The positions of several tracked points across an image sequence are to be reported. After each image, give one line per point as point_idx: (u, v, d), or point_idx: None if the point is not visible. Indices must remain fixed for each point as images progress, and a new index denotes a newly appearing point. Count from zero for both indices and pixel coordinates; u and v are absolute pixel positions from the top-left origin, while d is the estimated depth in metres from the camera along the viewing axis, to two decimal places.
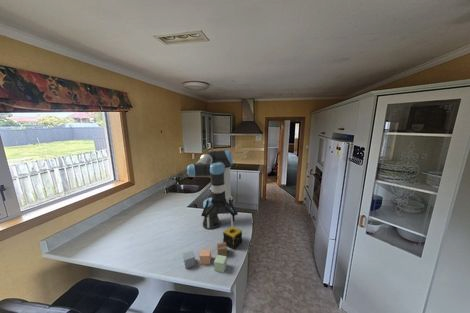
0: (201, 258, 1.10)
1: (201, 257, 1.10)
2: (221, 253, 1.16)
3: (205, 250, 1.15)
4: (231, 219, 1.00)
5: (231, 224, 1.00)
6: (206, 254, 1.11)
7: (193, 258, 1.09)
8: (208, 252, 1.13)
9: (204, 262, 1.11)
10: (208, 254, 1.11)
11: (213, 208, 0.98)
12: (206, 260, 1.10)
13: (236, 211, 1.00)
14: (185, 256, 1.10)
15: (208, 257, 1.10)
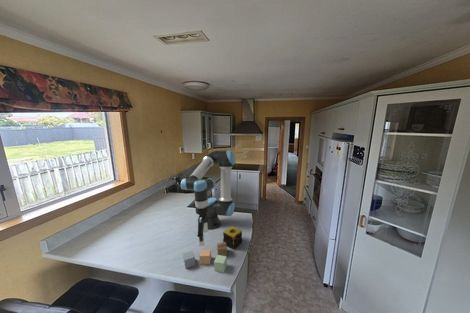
0: (201, 258, 1.10)
1: (201, 257, 1.10)
2: (221, 253, 1.16)
3: (205, 250, 1.15)
4: (199, 237, 1.03)
5: (199, 242, 1.04)
6: (206, 254, 1.11)
7: (193, 258, 1.09)
8: (208, 252, 1.13)
9: (204, 262, 1.11)
10: (208, 254, 1.11)
11: None
12: (206, 260, 1.10)
13: (199, 233, 1.00)
14: (185, 256, 1.10)
15: (208, 257, 1.10)
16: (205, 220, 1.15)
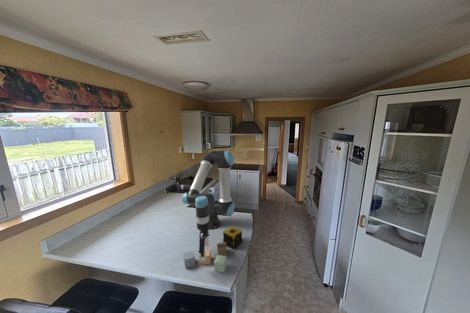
0: None
1: None
2: (221, 253, 1.16)
3: (205, 250, 1.15)
4: (200, 253, 1.05)
5: (200, 257, 1.06)
6: (206, 254, 1.11)
7: (193, 258, 1.09)
8: (208, 252, 1.13)
9: (204, 262, 1.11)
10: (208, 254, 1.11)
11: None
12: (206, 260, 1.10)
13: (200, 250, 1.02)
14: (185, 256, 1.10)
15: (208, 257, 1.10)
16: (206, 234, 1.17)
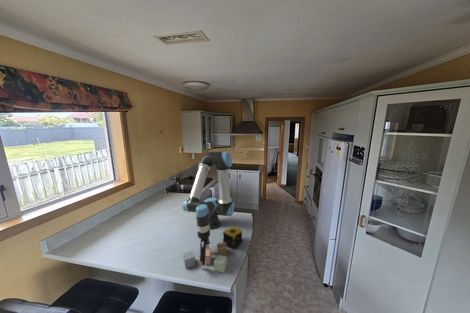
0: None
1: None
2: (221, 253, 1.16)
3: None
4: None
5: None
6: (206, 254, 1.11)
7: (193, 258, 1.09)
8: (208, 252, 1.13)
9: None
10: (208, 254, 1.11)
11: None
12: (206, 260, 1.10)
13: (201, 258, 1.03)
14: (185, 256, 1.10)
15: (208, 257, 1.10)
16: (207, 242, 1.18)
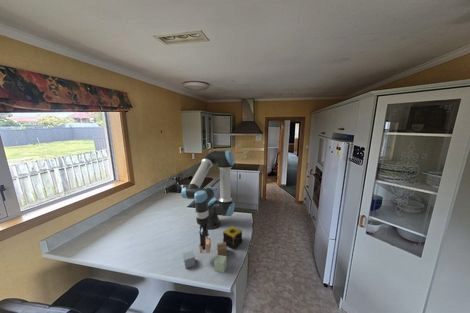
0: (200, 247, 1.09)
1: (200, 246, 1.09)
2: (221, 253, 1.16)
3: None
4: None
5: (202, 250, 1.10)
6: None
7: (193, 258, 1.09)
8: (208, 241, 1.12)
9: None
10: (208, 243, 1.10)
11: None
12: None
13: (201, 243, 1.05)
14: (185, 256, 1.10)
15: (208, 246, 1.09)
16: (206, 232, 1.14)
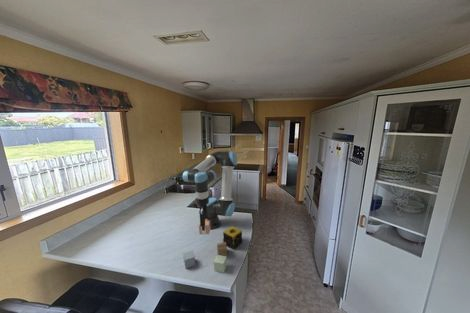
0: (200, 228, 1.11)
1: (200, 227, 1.11)
2: (221, 253, 1.16)
3: None
4: None
5: None
6: None
7: (193, 258, 1.09)
8: (207, 222, 1.14)
9: None
10: (207, 224, 1.12)
11: None
12: None
13: (201, 223, 1.07)
14: (185, 256, 1.10)
15: (207, 227, 1.11)
16: (205, 215, 1.16)
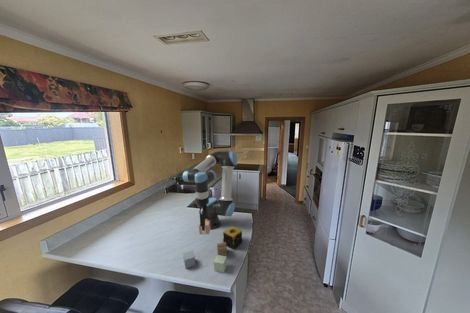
0: (200, 228, 1.11)
1: (200, 227, 1.11)
2: (221, 253, 1.16)
3: None
4: None
5: None
6: None
7: (193, 258, 1.09)
8: (207, 222, 1.14)
9: None
10: (207, 224, 1.12)
11: None
12: None
13: (201, 223, 1.07)
14: (185, 256, 1.10)
15: (207, 227, 1.11)
16: (205, 215, 1.16)
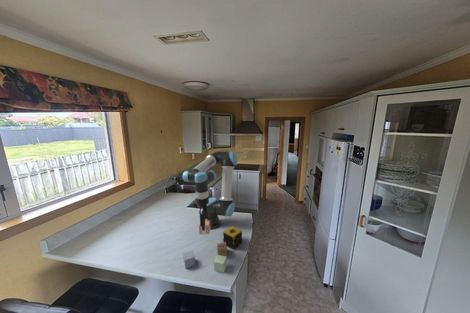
0: (200, 228, 1.11)
1: (200, 227, 1.11)
2: (221, 253, 1.16)
3: None
4: None
5: None
6: None
7: (193, 258, 1.09)
8: (207, 222, 1.14)
9: None
10: (207, 224, 1.12)
11: None
12: None
13: (201, 223, 1.07)
14: (185, 256, 1.10)
15: (207, 227, 1.11)
16: (205, 215, 1.16)
